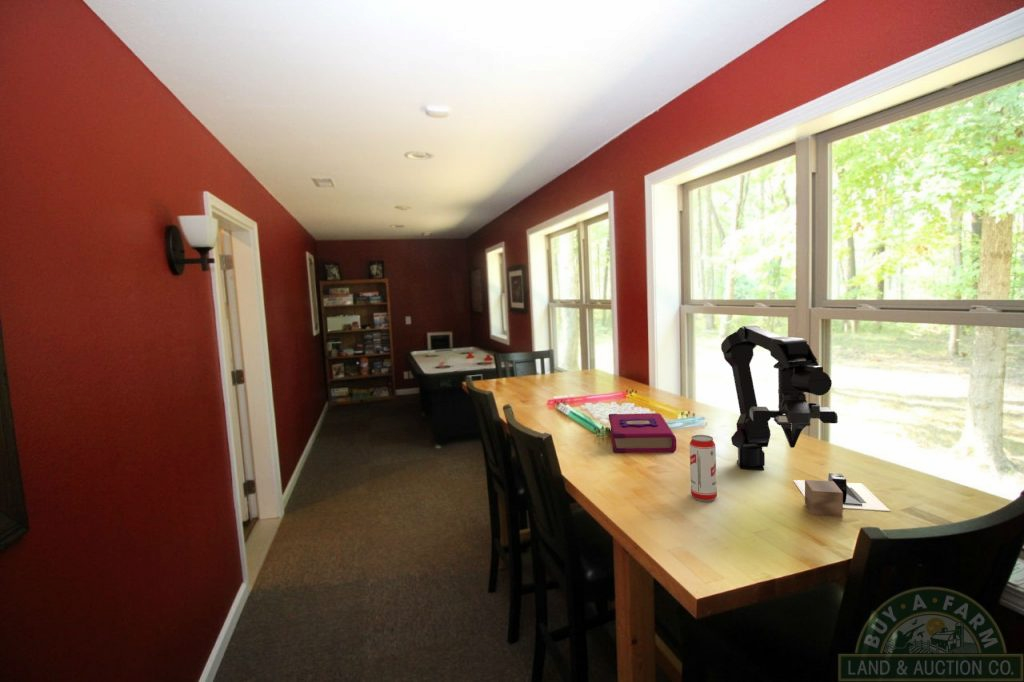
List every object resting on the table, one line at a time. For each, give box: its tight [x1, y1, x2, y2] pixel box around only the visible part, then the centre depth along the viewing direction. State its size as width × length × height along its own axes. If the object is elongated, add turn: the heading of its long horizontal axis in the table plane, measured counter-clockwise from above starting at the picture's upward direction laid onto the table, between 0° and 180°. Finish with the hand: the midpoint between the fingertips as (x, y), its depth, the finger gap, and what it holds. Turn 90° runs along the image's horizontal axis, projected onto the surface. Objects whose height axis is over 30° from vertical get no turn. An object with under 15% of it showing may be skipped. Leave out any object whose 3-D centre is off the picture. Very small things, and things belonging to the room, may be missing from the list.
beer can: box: [689, 434, 718, 503], centre depth 120 cm, size 6×6×16 cm
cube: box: [804, 479, 844, 518], centre depth 110 cm, size 6×6×6 cm
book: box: [608, 412, 677, 454], centre depth 171 cm, size 21×28×8 cm
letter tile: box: [792, 479, 891, 512], centre depth 118 cm, size 16×16×1 cm
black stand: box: [827, 472, 862, 505], centre depth 117 cm, size 12×7×5 cm, turn 159°
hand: (791, 447), depth 120 cm, fingers closed
